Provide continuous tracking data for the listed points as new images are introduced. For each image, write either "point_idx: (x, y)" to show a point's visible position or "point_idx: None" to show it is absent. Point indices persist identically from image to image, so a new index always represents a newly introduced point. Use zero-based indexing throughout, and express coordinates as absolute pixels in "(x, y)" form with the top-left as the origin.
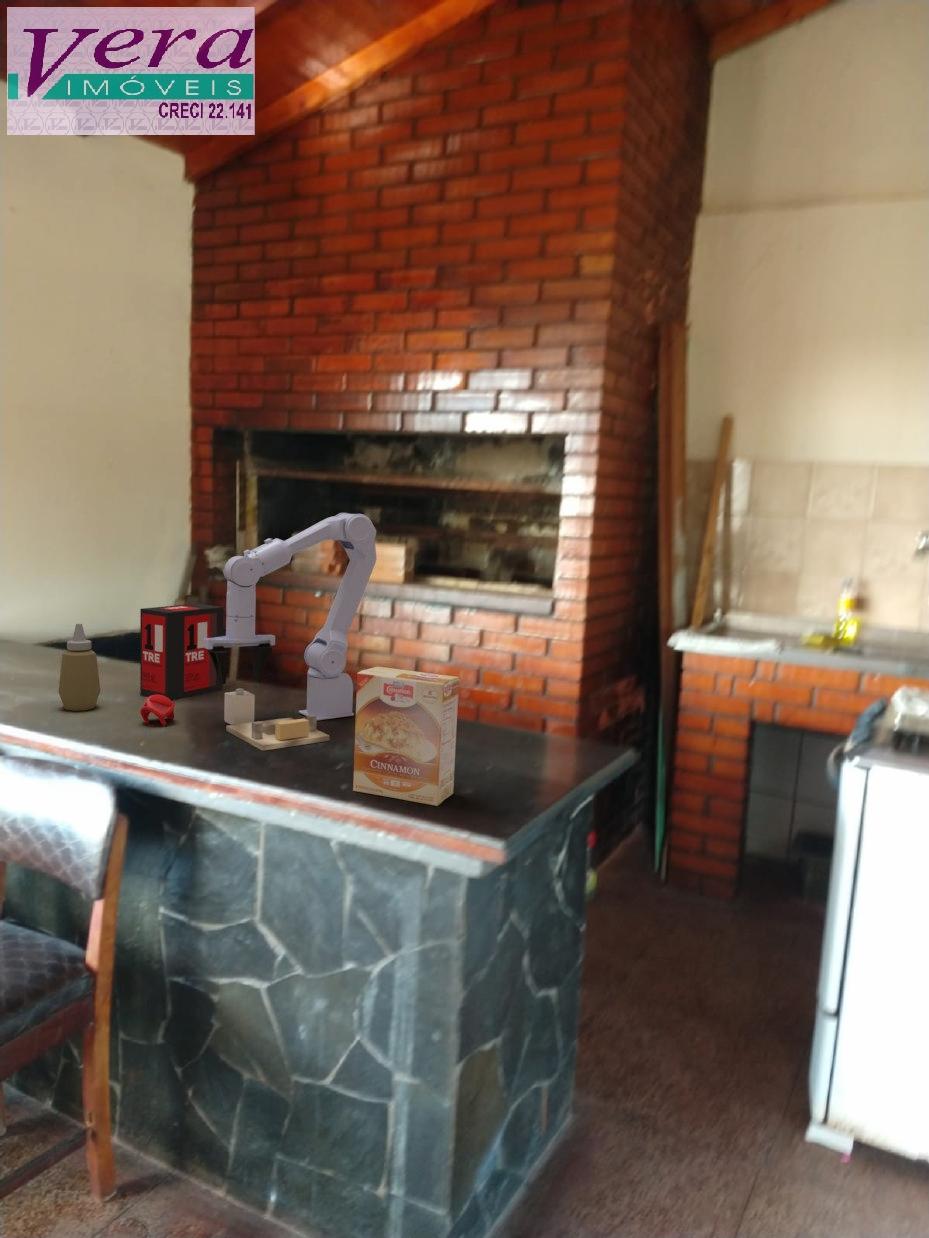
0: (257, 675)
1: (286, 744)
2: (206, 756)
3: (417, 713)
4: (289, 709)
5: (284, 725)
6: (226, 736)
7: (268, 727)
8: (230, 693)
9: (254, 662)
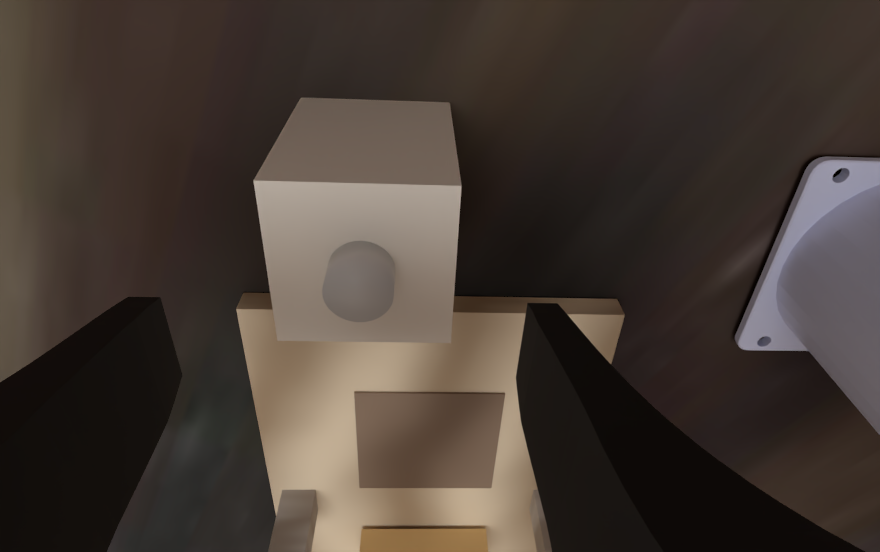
0: (523, 412)
1: None
2: None
3: None
4: (864, 19)
5: None
6: (216, 368)
7: (414, 417)
8: (294, 225)
9: (579, 443)
